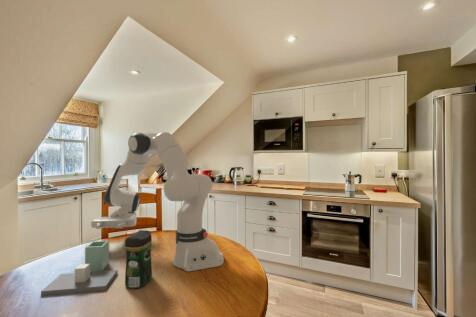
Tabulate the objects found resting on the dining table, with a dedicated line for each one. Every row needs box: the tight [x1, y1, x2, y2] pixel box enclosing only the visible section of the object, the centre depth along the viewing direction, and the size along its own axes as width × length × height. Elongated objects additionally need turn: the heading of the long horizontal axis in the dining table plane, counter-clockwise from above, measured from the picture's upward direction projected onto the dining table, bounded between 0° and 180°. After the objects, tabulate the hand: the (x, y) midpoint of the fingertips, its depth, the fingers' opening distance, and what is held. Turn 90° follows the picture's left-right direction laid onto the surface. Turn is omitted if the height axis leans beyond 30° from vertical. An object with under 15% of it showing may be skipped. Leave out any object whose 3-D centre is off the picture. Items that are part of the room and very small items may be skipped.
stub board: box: [40, 263, 118, 296], centre depth 82 cm, size 20×11×6 cm, turn 100°
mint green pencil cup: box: [84, 240, 110, 272], centre depth 93 cm, size 6×6×10 cm
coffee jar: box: [124, 229, 153, 290], centre depth 83 cm, size 10×8×19 cm
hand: (108, 227), depth 105 cm, fingers open, 8 cm apart
